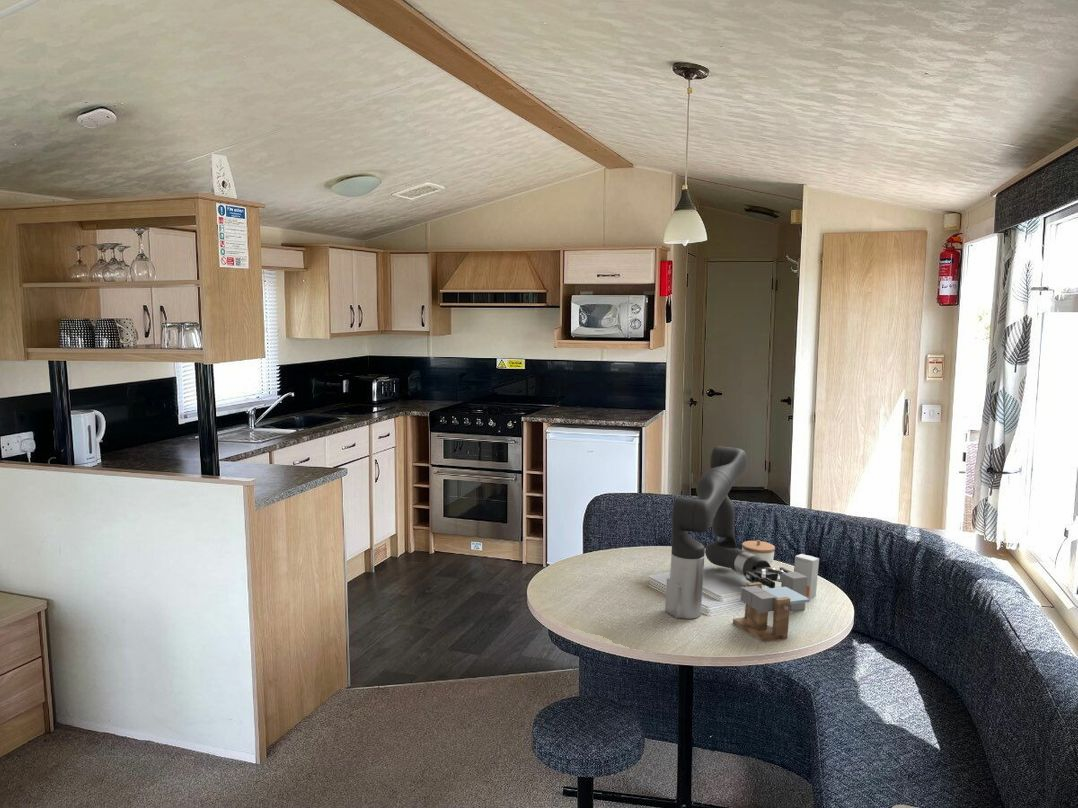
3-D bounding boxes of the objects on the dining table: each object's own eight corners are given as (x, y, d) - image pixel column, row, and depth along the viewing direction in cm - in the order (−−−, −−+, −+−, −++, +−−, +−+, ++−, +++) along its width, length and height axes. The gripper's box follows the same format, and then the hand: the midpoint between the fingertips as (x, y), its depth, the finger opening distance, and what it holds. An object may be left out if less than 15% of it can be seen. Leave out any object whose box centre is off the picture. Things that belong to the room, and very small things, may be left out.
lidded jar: (774, 574, 269) (776, 546, 268) (741, 571, 271) (743, 543, 270) (772, 564, 279) (774, 537, 278) (739, 561, 281) (741, 534, 280)
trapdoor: (809, 607, 220) (810, 593, 220) (762, 613, 215) (763, 599, 214) (784, 594, 230) (785, 581, 229) (739, 600, 224) (740, 586, 223)
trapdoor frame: (790, 640, 216) (793, 600, 214) (766, 643, 213) (769, 603, 211) (753, 618, 230) (756, 580, 229) (730, 621, 227) (732, 583, 226)
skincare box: (791, 593, 251) (794, 555, 250) (798, 590, 254) (801, 553, 253) (809, 599, 247) (813, 560, 245) (816, 595, 250) (819, 558, 248)
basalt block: (790, 612, 236) (793, 578, 235) (779, 605, 240) (782, 573, 239) (804, 610, 238) (807, 577, 236) (793, 604, 242) (796, 571, 241)
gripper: (733, 557, 253) (767, 574, 238) (771, 553, 259) (806, 569, 244) (732, 580, 254) (765, 598, 239) (769, 576, 259) (804, 593, 245)
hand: (785, 584), depth 241 cm, fingers open, 8 cm apart
